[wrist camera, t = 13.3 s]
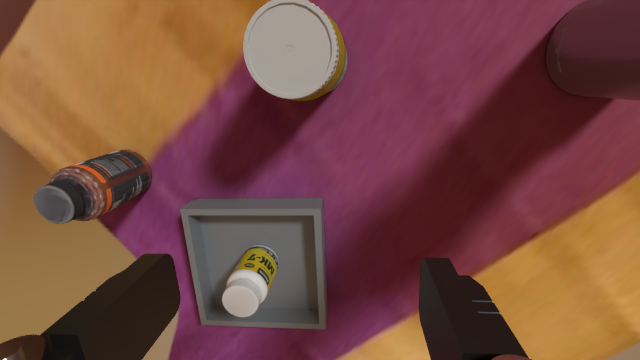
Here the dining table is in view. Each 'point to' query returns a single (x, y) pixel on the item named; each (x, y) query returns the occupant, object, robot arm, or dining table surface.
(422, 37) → the dining table surface
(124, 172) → the supplement bottle
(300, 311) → the tray
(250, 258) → the supplement bottle
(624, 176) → the dining table surface
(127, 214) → the dining table surface
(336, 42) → the bottle
